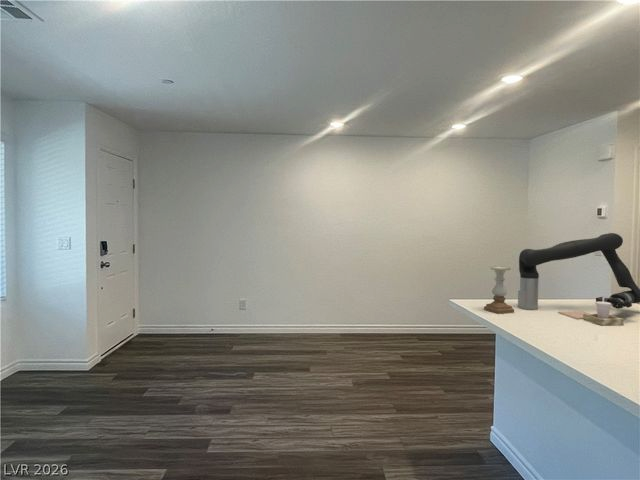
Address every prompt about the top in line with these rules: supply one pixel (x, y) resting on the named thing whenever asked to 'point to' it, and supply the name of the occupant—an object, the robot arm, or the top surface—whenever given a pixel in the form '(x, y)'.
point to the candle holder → (499, 294)
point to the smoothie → (603, 309)
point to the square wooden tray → (603, 320)
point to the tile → (574, 314)
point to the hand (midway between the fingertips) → (608, 303)
